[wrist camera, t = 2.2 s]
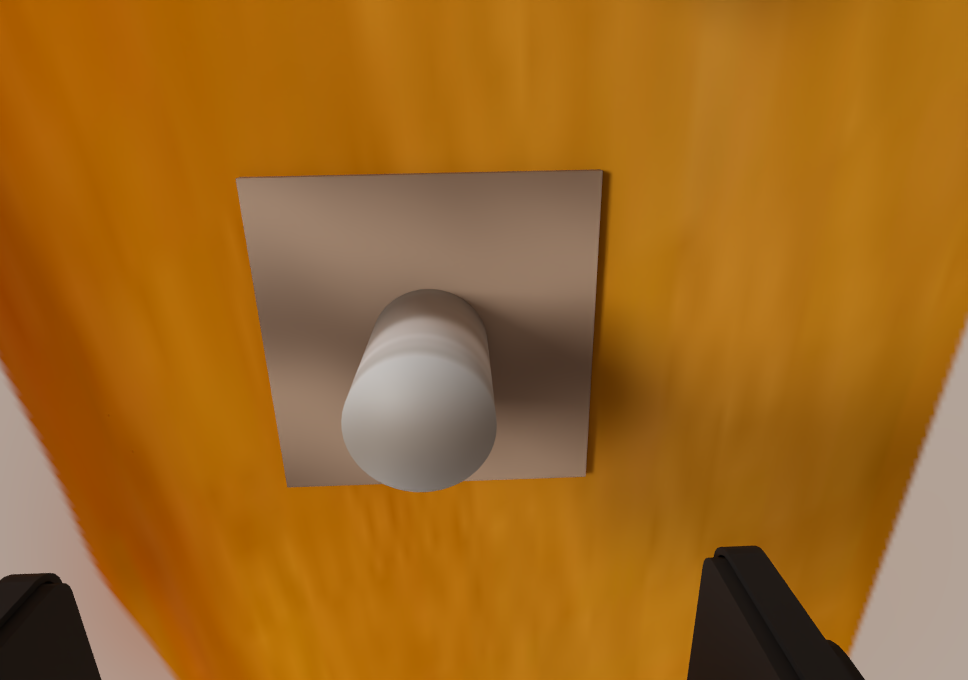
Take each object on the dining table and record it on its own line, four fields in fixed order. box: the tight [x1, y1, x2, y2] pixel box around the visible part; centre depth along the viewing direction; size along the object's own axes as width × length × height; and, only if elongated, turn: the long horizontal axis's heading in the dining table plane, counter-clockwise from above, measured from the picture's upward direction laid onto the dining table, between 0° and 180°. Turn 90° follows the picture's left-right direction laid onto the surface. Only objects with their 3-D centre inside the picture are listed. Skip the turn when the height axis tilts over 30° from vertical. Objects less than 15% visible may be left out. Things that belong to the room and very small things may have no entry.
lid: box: [236, 170, 603, 492], centre depth 16 cm, size 10×10×6 cm
